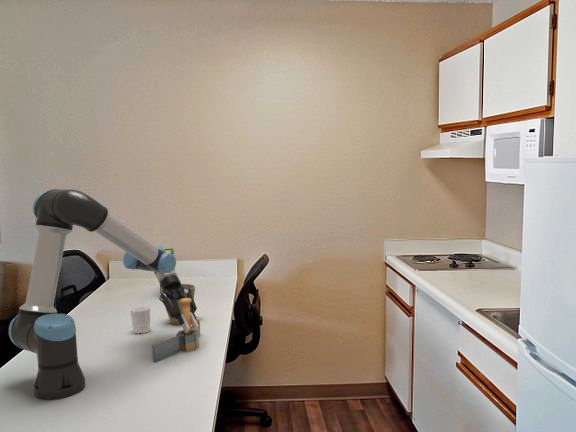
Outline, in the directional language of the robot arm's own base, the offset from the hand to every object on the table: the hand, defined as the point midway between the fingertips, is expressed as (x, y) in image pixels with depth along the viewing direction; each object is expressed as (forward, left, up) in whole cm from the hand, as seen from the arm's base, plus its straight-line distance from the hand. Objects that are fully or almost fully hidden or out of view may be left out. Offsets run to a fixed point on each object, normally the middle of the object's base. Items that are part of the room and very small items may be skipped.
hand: (192, 329), depth 203 cm
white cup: (-29, +24, -8) cm, 38 cm away
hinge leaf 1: (-6, -3, -8) cm, 11 cm away
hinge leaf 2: (-3, +9, -8) cm, 12 cm away
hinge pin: (-3, +3, -6) cm, 7 cm away
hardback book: (-38, +90, -8) cm, 98 cm away
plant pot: (-16, +37, -8) cm, 41 cm away
